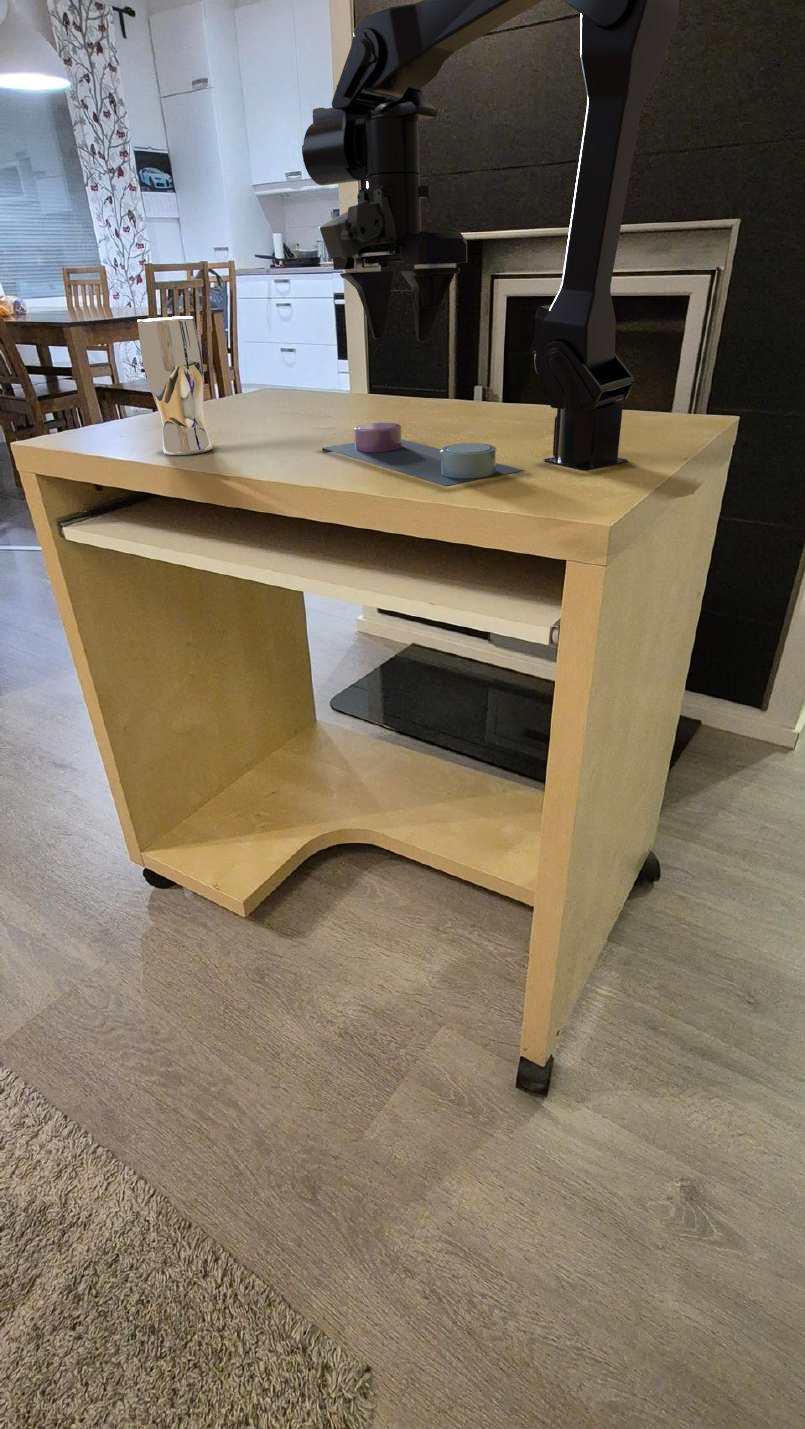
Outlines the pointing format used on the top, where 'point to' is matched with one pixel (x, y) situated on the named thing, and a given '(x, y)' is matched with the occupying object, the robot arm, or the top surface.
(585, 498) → the top surface
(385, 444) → the purple puck
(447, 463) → the grey-blue puck
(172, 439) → the beer glass
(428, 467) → the placemat
